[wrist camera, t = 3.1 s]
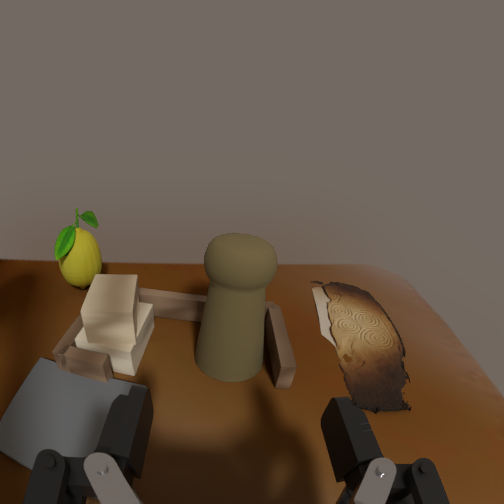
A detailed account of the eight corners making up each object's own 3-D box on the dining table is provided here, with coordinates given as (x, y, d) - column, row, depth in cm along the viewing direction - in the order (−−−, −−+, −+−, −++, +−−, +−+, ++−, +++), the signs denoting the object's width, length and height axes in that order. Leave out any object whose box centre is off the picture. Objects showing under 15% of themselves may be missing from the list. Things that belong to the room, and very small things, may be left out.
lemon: (101, 273, 33) (98, 199, 30) (114, 292, 29) (110, 209, 26) (56, 282, 28) (48, 205, 25) (63, 304, 25) (51, 216, 21)
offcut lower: (82, 365, 18) (74, 339, 17) (109, 321, 25) (106, 296, 24) (135, 378, 19) (130, 352, 18) (154, 329, 25) (152, 304, 24)
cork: (218, 329, 27) (229, 221, 23) (273, 352, 24) (298, 239, 20) (180, 360, 21) (181, 236, 18) (242, 393, 19) (265, 262, 15)
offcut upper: (87, 343, 17) (80, 310, 16) (99, 302, 23) (95, 274, 22) (136, 344, 19) (132, 312, 18) (138, 303, 24) (137, 274, 23)
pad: (-7, 446, 7) (-11, 441, 7) (42, 362, 17) (40, 357, 16) (119, 506, 8) (116, 503, 8) (147, 390, 18) (146, 385, 17)
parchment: (309, 280, 41) (310, 275, 41) (368, 288, 40) (370, 283, 40) (330, 417, 18) (333, 411, 18) (428, 411, 17) (433, 405, 17)
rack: (60, 374, 16) (52, 351, 15) (107, 302, 27) (105, 282, 26) (294, 407, 18) (302, 386, 17) (274, 321, 29) (278, 302, 28)
